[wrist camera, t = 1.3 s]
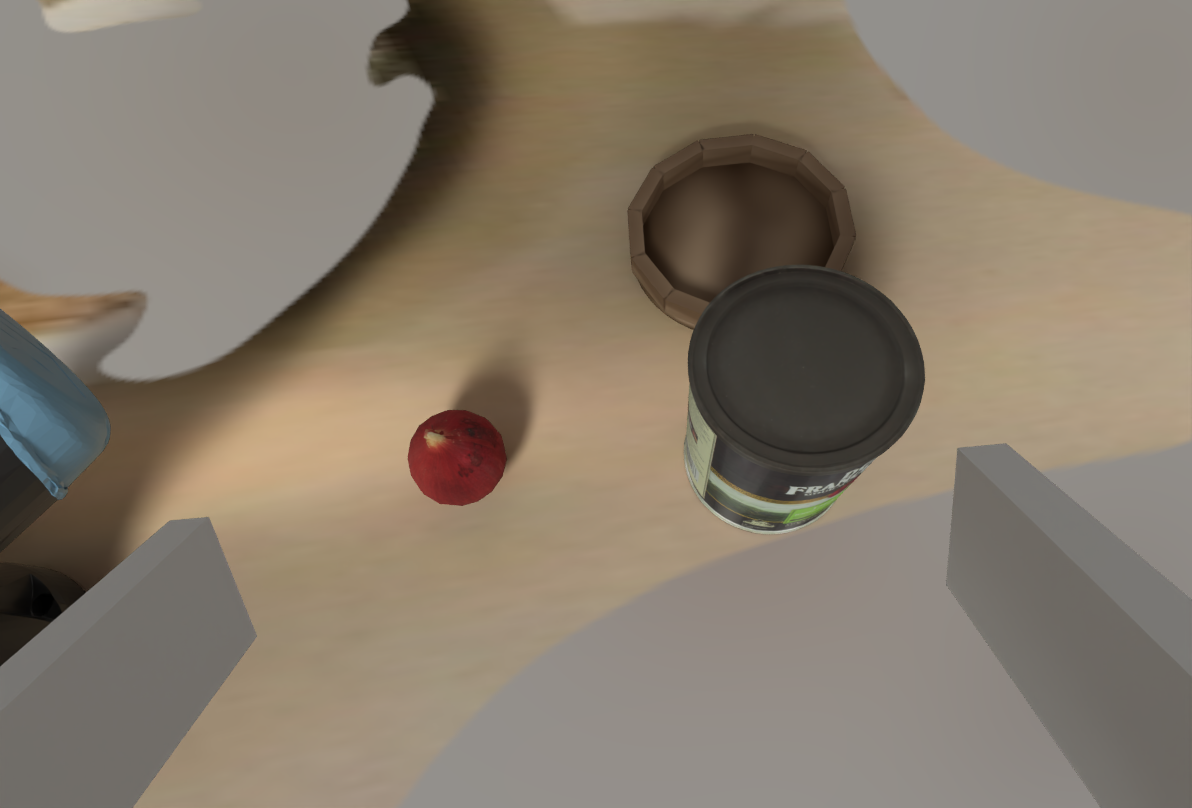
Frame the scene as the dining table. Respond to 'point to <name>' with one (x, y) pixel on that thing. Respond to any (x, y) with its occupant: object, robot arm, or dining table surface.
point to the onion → (456, 457)
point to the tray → (733, 220)
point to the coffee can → (795, 393)
